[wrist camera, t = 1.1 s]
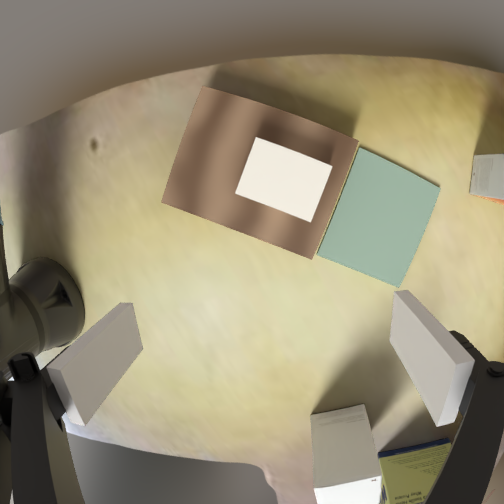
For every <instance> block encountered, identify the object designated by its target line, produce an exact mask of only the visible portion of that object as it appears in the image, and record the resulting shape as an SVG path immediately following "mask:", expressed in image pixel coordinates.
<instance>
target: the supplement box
mask: <svg viewBox="0 0 504 504" xmlns="http://www.w3.org/2000/svg"><path fill="white" fill-rule="evenodd" d="M310 419H311V437H312V458H313V482H314V491H315V495H316V499H317V503H318V504H379V503H380V497H381V484H382V472H381V467H380V463H379V459H378V455H377V451H376V447H375V443H374V439H373V435H372V431H371V427H370V423H369V420H368V416H367V412H366V409H365V405H364V404H362V405H357V406H353V407H349V408H344V409H339V410H334V411H329V412H324V413H319V414H312V415H310Z"/></svg>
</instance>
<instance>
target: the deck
mask: <svg viewBox="0 0 504 504" xmlns="http://www.w3.org/2000/svg"><path fill="white" fill-rule="evenodd" d="M256 137H257V138H260V139H263V140H266V141H269V142H271V143H274V144H277V145H280V146H282V147H285V148H288V149H290V150H293V151H296V152H298V153H301V154H303V155H306V156H308V157H311V158H314V159H316V160H318V161H321V162H323V163H326V164H328V165H331V166H333V167H332V169H331V172H330V175H329V177H328V180H327V182H326V185H325V188H324V190H323V193H322V195H321V198H320V200H319V203H318V205H317V208H316V210H315V213H314V215H313V218H312V220H311V222H308V221H306V220H303V219H301V218H298V217H296V216H293V215H291V214H288V213H286V212H283V211H280V210H278V209H275V208H273V207H270V206H267V205H265V204H262V203H259V202H257V201H254V200H251V199H249V198H246V197H243V196H241V195H238V194H235V192H236V190H237V187H238V184H239V181H240V179H241V176H242V173H243V170H244V168H245V165H246V162H247V160H248V157H249V154H250V152H251V149H252V146H253V144H254V141H255V138H256ZM358 142H359V141H358V140H356V139H354V138H352V137H349V136H347V135H345V134H342V133H340V132H338V131H335V130H333V129H330V128H328V127H326V126H323V125H321V124H318V123H316V122H313V121H310V120H308V119H305V118H303V117H300V116H297V115H294V114H292V113H289V112H286V111H283V110H280V109H278V108H275V107H272V106H269V105H266V104H263V103H260V102H257V101H253V100H250V99H247V98H244V97H240V96H237V95H234V94H230V93H227V92H223V91H220V90H216V89H212V88H209V87H205V86H202V88H201V91H200V93H199V96H198V98H197V101H196V103H195V106H194V108H193V111H192V114H191V116H190V119H189V122H188V124H187V127H186V130H185V132H184V135H183V138H182V141H181V144H180V146H179V149H178V152H177V155H176V158H175V161H174V164H173V167H172V170H171V173H170V176H169V179H168V182H167V185H166V189H165V192H164V195H163V198H162V203H164V204H167V205H170V206H172V207H175V208H178V209H180V210H183V211H186V212H189V213H191V214H194V215H197V216H199V217H202V218H205V219H207V220H210V221H212V222H215V223H218V224H220V225H223V226H226V227H228V228H231V229H234V230H236V231H239V232H242V233H244V234H247V235H249V236H252V237H255V238H257V239H260V240H262V241H265V242H268V243H270V244H273V245H275V246H278V247H281V248H283V249H286V250H288V251H291V252H294V253H296V254H299V255H301V256H304V257H306V258H309V259H312V258H313V256H314V253H315V251H316V249H317V246H318V244H319V242H320V239H321V237H322V234H323V232H324V229H325V227H326V225H327V222H328V220H329V217H330V215H331V212H332V210H333V207H334V205H335V202H336V200H337V197H338V195H339V192H340V189H341V187H342V184H343V182H344V179H345V176H346V174H347V171H348V169H349V166H350V163H351V161H352V158H353V155H354V152H355V150H356V147H357V144H358Z"/></svg>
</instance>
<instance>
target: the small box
mask: <svg viewBox="0 0 504 504" xmlns="http://www.w3.org/2000/svg"><path fill="white" fill-rule="evenodd" d="M470 195H474V196H478V197H481V198H484V199H487V200H490V201H493V202H496V203H499V204H502V205H504V154H485V155H474V160H473V169H472V179H471V186H470Z"/></svg>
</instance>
